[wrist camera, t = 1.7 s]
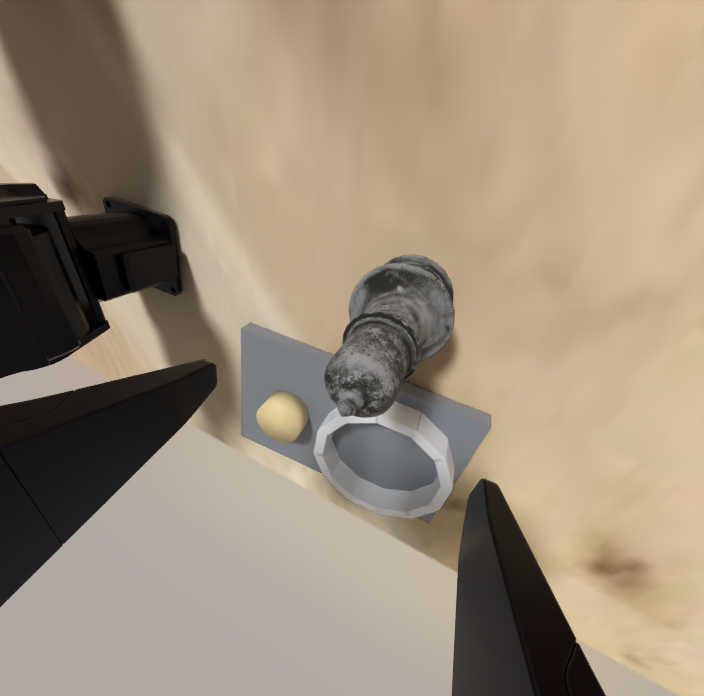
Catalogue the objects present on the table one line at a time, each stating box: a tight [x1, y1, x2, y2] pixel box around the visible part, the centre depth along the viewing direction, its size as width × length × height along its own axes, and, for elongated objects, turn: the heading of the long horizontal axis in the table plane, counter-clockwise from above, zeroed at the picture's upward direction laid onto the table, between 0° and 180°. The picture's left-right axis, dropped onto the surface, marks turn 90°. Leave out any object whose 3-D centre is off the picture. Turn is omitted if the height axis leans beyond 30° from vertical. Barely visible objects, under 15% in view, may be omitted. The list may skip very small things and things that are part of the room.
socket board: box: [241, 323, 491, 523], centre depth 26 cm, size 20×13×3 cm, turn 78°
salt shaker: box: [324, 255, 455, 418], centre depth 15 cm, size 6×6×12 cm
